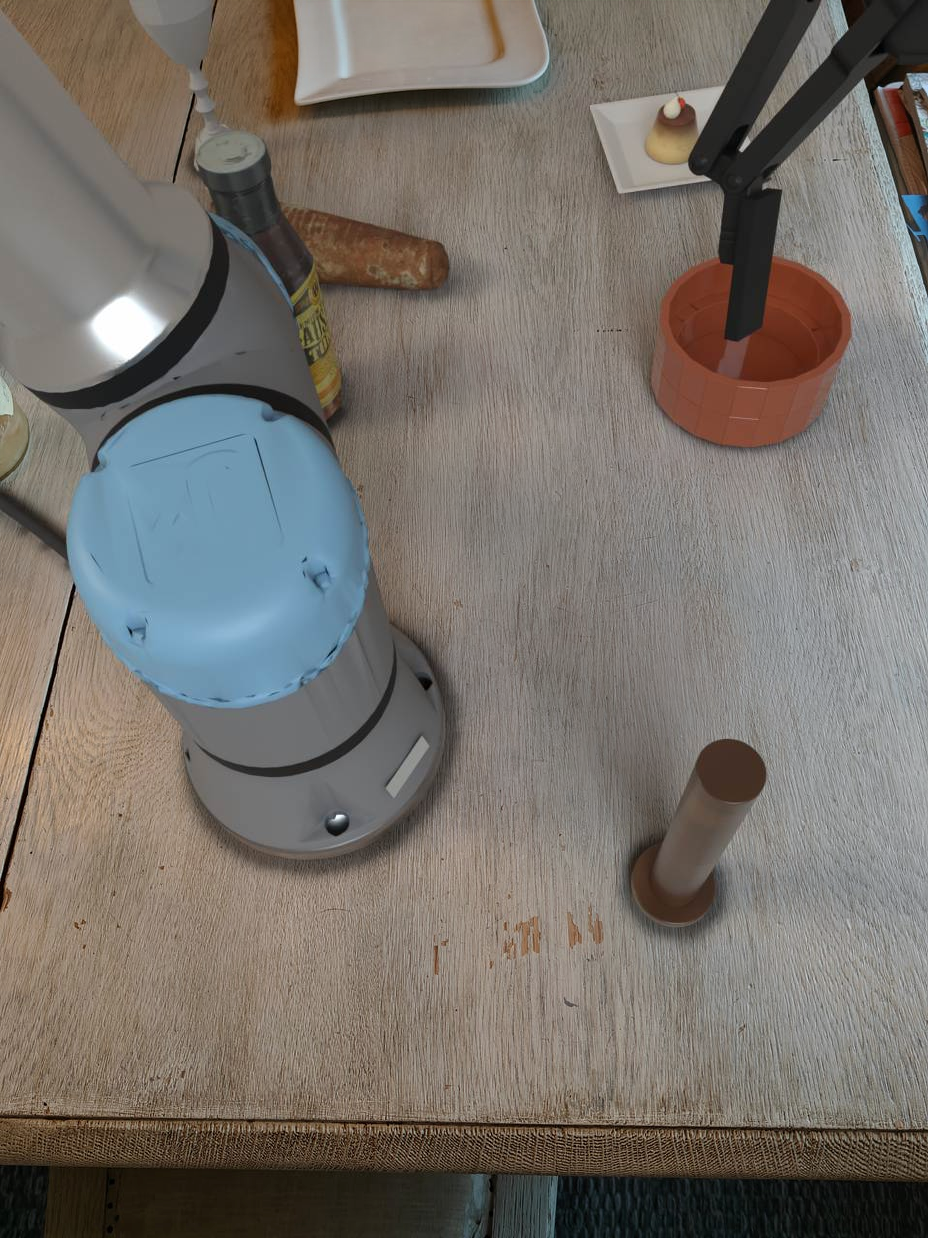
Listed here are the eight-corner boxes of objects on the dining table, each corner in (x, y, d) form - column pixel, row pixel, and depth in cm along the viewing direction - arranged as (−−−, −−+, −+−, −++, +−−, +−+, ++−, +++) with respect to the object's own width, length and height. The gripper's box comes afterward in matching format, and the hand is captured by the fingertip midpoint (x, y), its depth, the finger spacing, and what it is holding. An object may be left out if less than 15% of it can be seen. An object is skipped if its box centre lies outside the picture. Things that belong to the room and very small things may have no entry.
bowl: (623, 419, 67) (631, 352, 62) (686, 306, 72) (699, 234, 67) (792, 477, 64) (817, 412, 58) (847, 354, 69) (874, 283, 63)
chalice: (201, 194, 83) (123, -30, 67) (169, 155, 86) (86, -69, 70) (275, 160, 84) (216, -67, 68) (241, 123, 87) (176, -103, 71)
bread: (240, 233, 80) (221, 173, 75) (459, 266, 76) (454, 205, 71) (210, 285, 77) (188, 226, 72) (436, 322, 73) (429, 263, 68)
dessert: (722, 97, 84) (732, 42, 80) (761, 183, 79) (774, 129, 74) (588, 116, 84) (591, 62, 80) (617, 205, 78) (622, 151, 74)
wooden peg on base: (618, 904, 51) (653, 796, 36) (649, 832, 53) (697, 698, 37) (695, 942, 50) (768, 848, 34) (725, 867, 52) (807, 745, 36)
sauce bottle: (333, 439, 68) (264, 197, 51) (250, 429, 69) (155, 189, 52) (356, 371, 71) (298, 121, 54) (277, 363, 72) (195, 114, 55)
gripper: (1516, -303, 28) (1211, 393, 40) (726, -205, 41) (679, 295, 53) (1532, -345, 23) (1181, 457, 35) (635, -219, 36) (606, 332, 49)
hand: (879, 361), depth 44 cm, fingers open, 13 cm apart
